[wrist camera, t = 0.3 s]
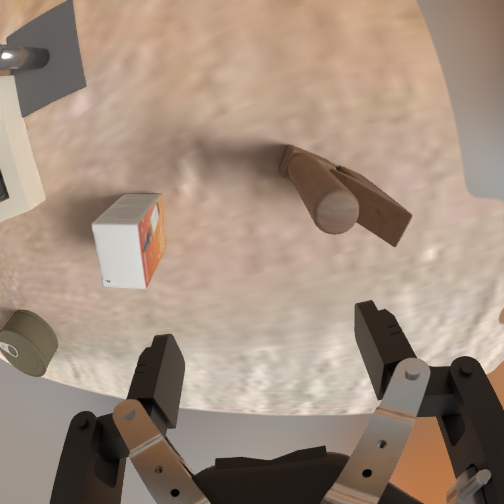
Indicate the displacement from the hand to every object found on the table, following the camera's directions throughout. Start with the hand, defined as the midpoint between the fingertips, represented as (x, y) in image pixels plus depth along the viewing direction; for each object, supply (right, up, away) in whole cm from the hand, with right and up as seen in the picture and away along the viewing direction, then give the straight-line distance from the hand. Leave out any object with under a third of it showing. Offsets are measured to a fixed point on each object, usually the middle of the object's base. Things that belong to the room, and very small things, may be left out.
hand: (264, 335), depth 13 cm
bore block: (-38, +19, +21) cm, 47 cm away
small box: (-15, +8, +28) cm, 33 cm away
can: (-44, -12, +38) cm, 60 cm away
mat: (-29, +30, +16) cm, 44 cm away
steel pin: (-29, +29, +16) cm, 44 cm away
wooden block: (+8, +14, +25) cm, 30 cm away
